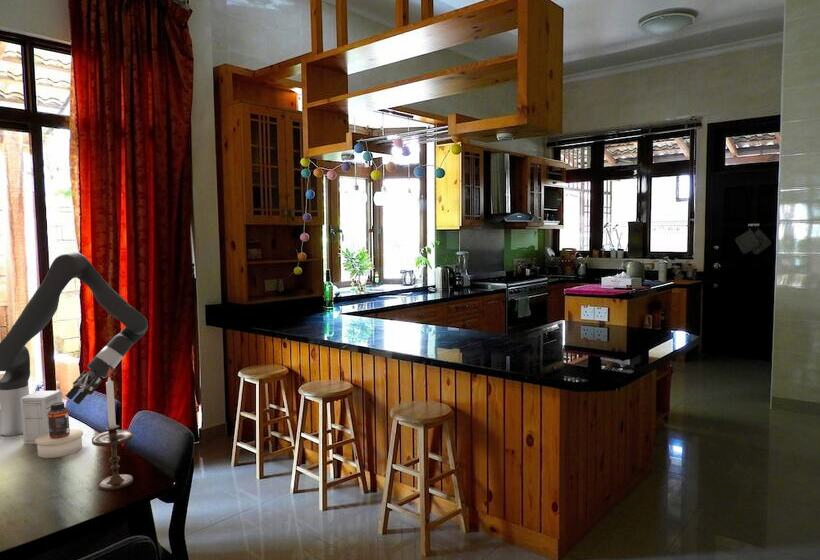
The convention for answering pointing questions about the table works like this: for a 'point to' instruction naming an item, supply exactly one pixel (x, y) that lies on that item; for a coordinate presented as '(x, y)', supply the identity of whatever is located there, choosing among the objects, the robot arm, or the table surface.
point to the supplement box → (37, 413)
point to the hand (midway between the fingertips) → (71, 400)
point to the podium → (59, 444)
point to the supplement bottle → (58, 420)
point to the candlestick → (113, 444)
